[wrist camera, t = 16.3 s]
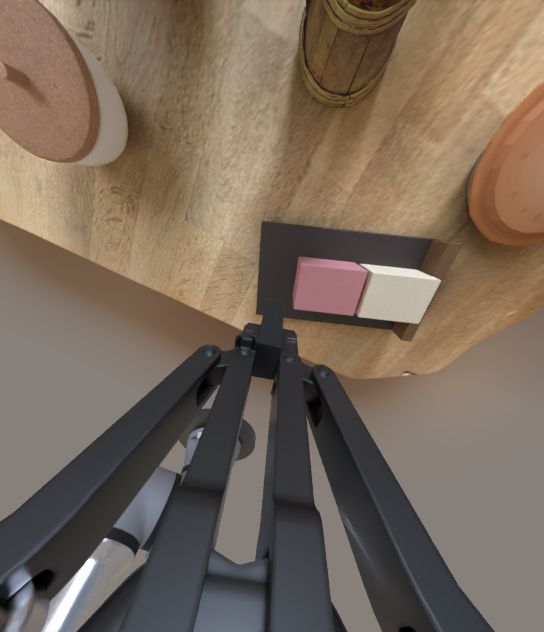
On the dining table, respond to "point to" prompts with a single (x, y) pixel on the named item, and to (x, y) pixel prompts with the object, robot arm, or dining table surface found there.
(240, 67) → the dining table surface
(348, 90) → the wooden mug
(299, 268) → the pink block
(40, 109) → the trinket box
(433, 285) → the cream block
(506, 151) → the pie
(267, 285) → the backrest board
